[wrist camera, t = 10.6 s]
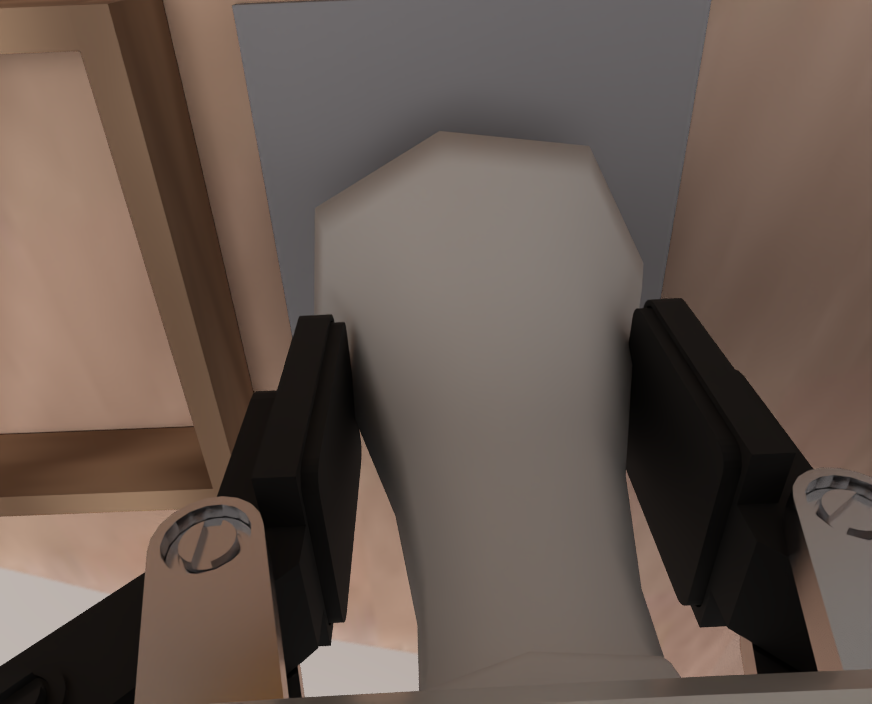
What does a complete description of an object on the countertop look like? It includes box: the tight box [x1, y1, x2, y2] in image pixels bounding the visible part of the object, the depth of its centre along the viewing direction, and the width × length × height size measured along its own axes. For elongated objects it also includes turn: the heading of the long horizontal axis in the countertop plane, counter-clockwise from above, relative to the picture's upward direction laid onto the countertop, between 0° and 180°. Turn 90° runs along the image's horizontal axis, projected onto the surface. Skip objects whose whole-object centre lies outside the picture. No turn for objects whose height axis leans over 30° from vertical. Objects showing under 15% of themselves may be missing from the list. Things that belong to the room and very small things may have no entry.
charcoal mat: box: [232, 0, 711, 338], centre depth 18 cm, size 11×11×1 cm
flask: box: [314, 131, 681, 691], centre depth 10 cm, size 7×7×10 cm
